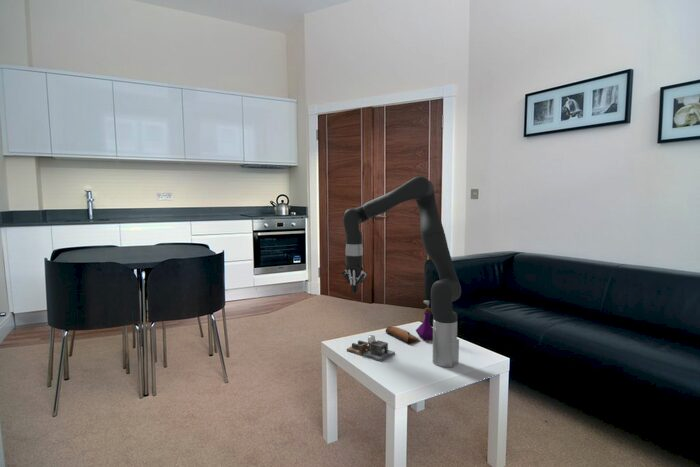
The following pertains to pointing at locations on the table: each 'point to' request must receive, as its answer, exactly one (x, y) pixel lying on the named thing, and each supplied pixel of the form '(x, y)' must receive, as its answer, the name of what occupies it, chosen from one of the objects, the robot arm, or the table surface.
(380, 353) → the plate
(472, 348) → the table surface
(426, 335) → the perfume bottle
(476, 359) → the table surface
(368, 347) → the steel bolt
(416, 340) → the sunglasses case
